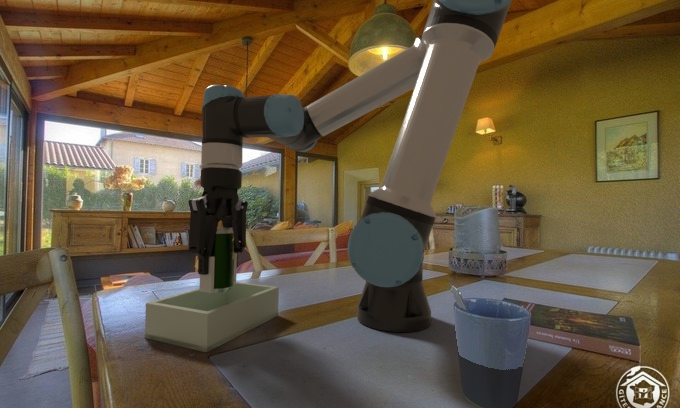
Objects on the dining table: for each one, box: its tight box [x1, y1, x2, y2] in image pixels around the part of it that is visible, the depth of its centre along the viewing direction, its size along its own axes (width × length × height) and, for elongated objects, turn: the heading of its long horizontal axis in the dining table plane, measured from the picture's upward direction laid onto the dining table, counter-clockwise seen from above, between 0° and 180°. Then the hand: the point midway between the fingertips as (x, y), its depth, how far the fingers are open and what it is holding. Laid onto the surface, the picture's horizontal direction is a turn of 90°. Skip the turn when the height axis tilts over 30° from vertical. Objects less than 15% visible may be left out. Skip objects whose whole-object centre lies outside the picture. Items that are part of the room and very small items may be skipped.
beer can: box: [204, 226, 234, 293], centre depth 63 cm, size 5×5×12 cm
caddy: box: [144, 281, 280, 353], centre depth 63 cm, size 14×20×6 cm
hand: (218, 287), depth 63 cm, fingers closed on beer can, 5 cm apart
